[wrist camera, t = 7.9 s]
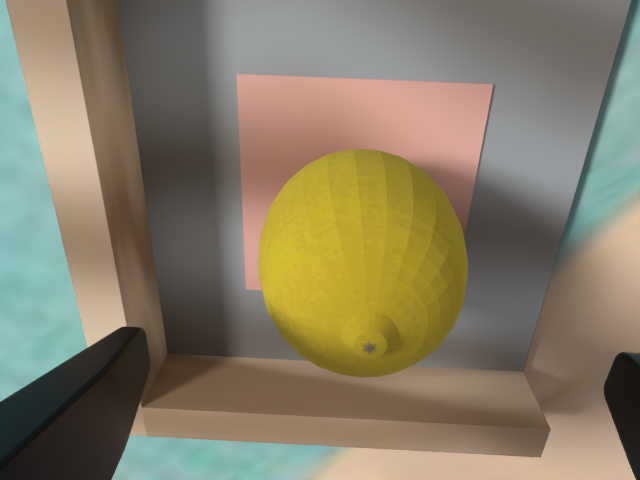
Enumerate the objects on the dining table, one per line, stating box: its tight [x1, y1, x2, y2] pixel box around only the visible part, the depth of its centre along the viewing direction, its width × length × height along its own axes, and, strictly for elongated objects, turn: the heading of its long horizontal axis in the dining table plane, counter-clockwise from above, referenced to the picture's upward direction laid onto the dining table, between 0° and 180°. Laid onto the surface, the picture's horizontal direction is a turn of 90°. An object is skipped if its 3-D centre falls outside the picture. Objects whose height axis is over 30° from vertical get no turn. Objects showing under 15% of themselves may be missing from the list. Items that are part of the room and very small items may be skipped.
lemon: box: [258, 149, 468, 378], centre depth 13 cm, size 6×6×8 cm
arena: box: [5, 0, 631, 457], centre depth 16 cm, size 16×16×4 cm
